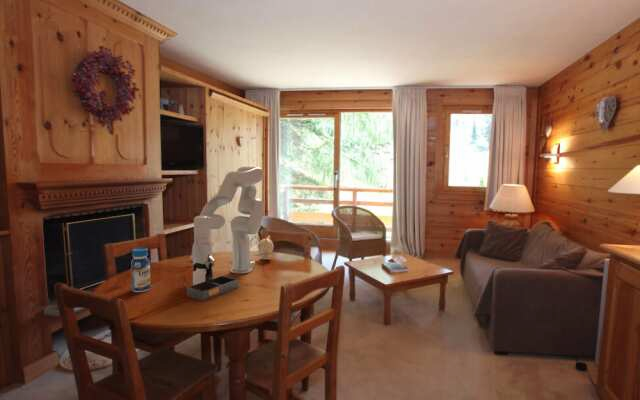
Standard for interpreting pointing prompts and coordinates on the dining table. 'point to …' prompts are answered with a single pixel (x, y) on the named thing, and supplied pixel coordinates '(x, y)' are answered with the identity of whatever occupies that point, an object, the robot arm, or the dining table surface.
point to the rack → (212, 288)
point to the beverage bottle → (140, 270)
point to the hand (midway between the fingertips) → (202, 273)
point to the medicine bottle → (200, 274)
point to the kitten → (265, 248)
